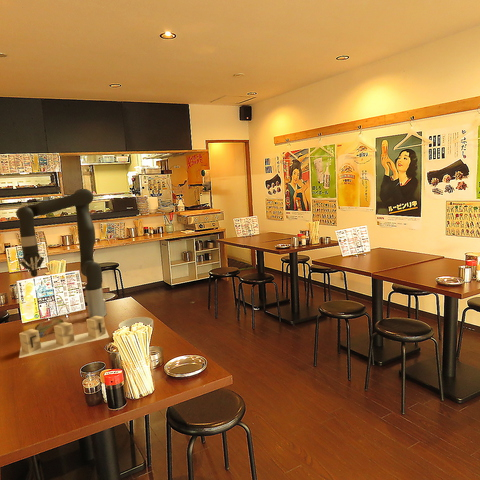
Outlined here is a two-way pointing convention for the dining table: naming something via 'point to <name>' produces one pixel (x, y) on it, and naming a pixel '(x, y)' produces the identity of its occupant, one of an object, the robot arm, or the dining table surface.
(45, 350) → the board
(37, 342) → the marked block 7
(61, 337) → the plain block
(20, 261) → the robot arm
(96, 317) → the marked block 1
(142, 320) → the cereal bowl
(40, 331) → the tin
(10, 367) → the dining table surface
